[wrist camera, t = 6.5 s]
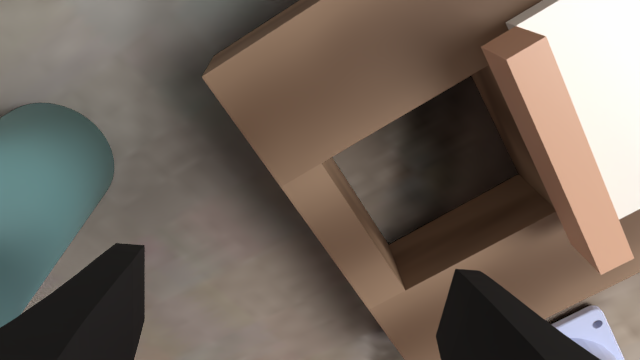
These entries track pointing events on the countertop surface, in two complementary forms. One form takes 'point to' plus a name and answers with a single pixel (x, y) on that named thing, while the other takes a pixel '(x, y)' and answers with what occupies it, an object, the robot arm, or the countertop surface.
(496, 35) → the socket block
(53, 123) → the peg
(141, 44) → the countertop surface
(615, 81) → the panel
